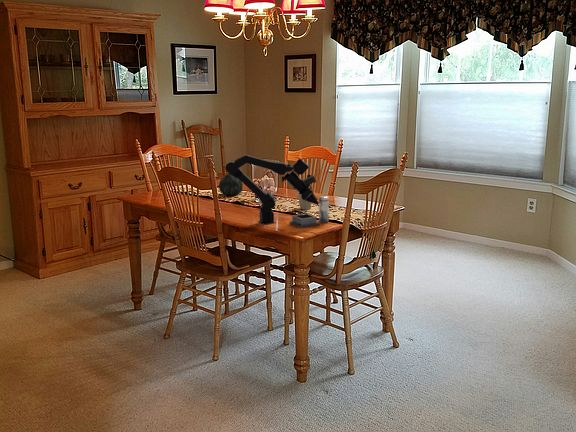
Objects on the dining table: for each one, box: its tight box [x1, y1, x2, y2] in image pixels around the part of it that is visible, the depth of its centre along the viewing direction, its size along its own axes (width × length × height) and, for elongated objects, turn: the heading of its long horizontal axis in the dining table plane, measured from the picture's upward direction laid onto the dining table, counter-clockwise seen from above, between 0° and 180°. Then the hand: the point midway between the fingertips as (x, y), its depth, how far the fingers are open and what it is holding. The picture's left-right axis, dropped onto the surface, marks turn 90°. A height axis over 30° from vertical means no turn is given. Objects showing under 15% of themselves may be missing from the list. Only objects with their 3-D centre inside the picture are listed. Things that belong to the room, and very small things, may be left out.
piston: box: [318, 195, 330, 224], centre depth 299 cm, size 5×5×13 cm
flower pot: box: [296, 192, 312, 210], centre depth 331 cm, size 9×9×9 cm
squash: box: [218, 172, 244, 196], centre depth 371 cm, size 14×15×15 cm
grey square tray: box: [289, 213, 320, 229], centre depth 296 cm, size 11×11×4 cm
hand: (317, 202), depth 298 cm, fingers open, 9 cm apart
